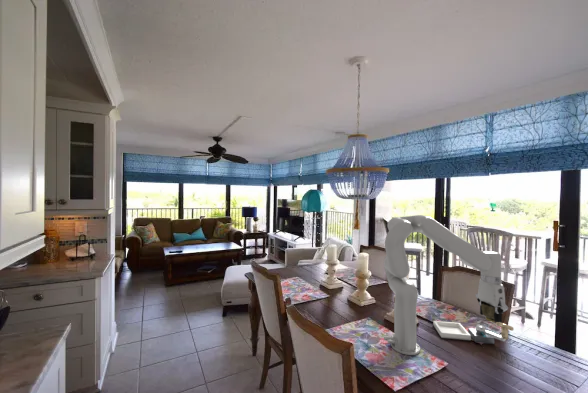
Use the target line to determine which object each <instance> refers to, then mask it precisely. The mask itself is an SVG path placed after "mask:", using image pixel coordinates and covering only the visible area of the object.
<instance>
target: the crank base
mask: <svg viewBox="0 0 588 393" xmlns="http://www.w3.org/2000/svg"><path fill="white" fill-rule="evenodd" d="M467 332H468V333H469V334H470V335H471V340H473V341H474V342H475V343H477V344H478V343H479V344H480V343H481V344H488V345H489V344H490V345H495V338H493V337H491V336H488V335H486V334H482V333H479V332H477V331H476V328H471V327H468V328H467Z"/></svg>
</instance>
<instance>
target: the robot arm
mask: <svg viewBox="0 0 588 393" xmlns="http://www.w3.org/2000/svg"><path fill="white" fill-rule="evenodd" d="M386 225H387V229H388V232H387V234H386V236H385V239H384V250H385V257H384V259H383V268H384V272H385V276H386V280H387V284H388V286H389V288H390V290H391V291H392V292H393V293H394V295H395V298H394V306H393V307H394V308H393V313H394V314H393V315H394V318H393V319H394V322H393V323H394V326H393V327H394V328H393V329H394V330H393V331H394V333H393V334H392V335H390V336H388V335H384V336H383V339H384V340H383V341H387V344H390V346H391V348H392V349H393V350H394V351H396V352H397V353H399V354H402V355H404V356H405V355H406V356H415V355H418V354H420V353H421V346H420V344H418V343H417V339H418V338H417V333H418V332H417V305H418V304H417V303H418V297H419V292H418V289H417V286H416V285H415V284H414V283H413V282H412V281H411V280H410V279H408V277H407V276H408V275H409V274H410V265H409V264H410V263H409V261H408V260H409V259H408V257H407V252H406V248H405V244H406V243H405V242H406V240H407V239H408V238H409V236H411V234H412V233H420V234H421V235H424V236H425V237H426V238H428V239H429V240H430V241H432V242H433V243H434V244H436V245H437V246H438V247H440V248H442V249H444V250H445V251H447V252H448V253H452V255H453V254H454V255H456V256H457V257H459V260H460V262H462V263H463V265H466V266H468V267H469V268H473V269H475V270H477V271H479V272H480V279H479V282H478V288H477V289H478V290H477V291H478V292H477V293H475V294H474V296H475V298H476V299H477V302H478V305H479V314H480V315H482V316H484V314H483V313H482V308H481V301H482V303H483V302H485V303H487V304H490V305H492V306H494V307H495V312H496V313H494V321H495V322H494V323H496V322H500V323H503V322H502V321H503V319H502V318H503V317H502V316H503V314H504V313H505V312H506V311H508V310H509V306H508V305H507V304H506V292H505V287H504V284H502V283H503V280H502V255H501V253H500V252H497V251H491V250H483V251H482V250H480V249H479V248H478V247H476V246H475V245H473V244H472V243H470V242H468V241H466V240H465V239H463V238H462V237H460V236H459V235H457V234H455V232H453V231H451V230H450V229H448V228H447V227H445V226H444V225H443V224H442V223H440V222H438V221H437V220H436V219H434V218H433V217H431V216H428V215H422V214H417V215H409V216H407V215H406V216H399V217H398V216H397V217H393V218H391V219H389V221H388V222H387V224H386ZM497 307H498V308H499V310H498V308H497Z"/></svg>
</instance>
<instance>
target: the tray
mask: <svg viewBox="0 0 588 393" xmlns="http://www.w3.org/2000/svg"><path fill="white" fill-rule="evenodd" d="M432 326H433V327H434V328H435V330H436V331H437V333H438V334H439V336H440V337H441V339H452V340H461V341H462V340H463V341H471V340H472V338H471V335H470V334H469V333H468V329H466V328H465V327H464V326H463V325H462V323H461V322H456V321H455V322H453V321H444V320H443V321H442V320H441V321H438V320H433V325H432Z"/></svg>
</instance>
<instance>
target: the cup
mask: <svg viewBox="0 0 588 393" xmlns="http://www.w3.org/2000/svg"><path fill="white" fill-rule="evenodd" d="M481 308H482V313H483V314H484V315H483V316H485V320H486V321H487V322H491V323H496V322H495V321H494V313H496V312H495V307H494V306H492V305H490V304H487V303H485V302H483V303H482V301H481ZM497 308H498V307H497ZM498 310H499V308H498Z"/></svg>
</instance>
